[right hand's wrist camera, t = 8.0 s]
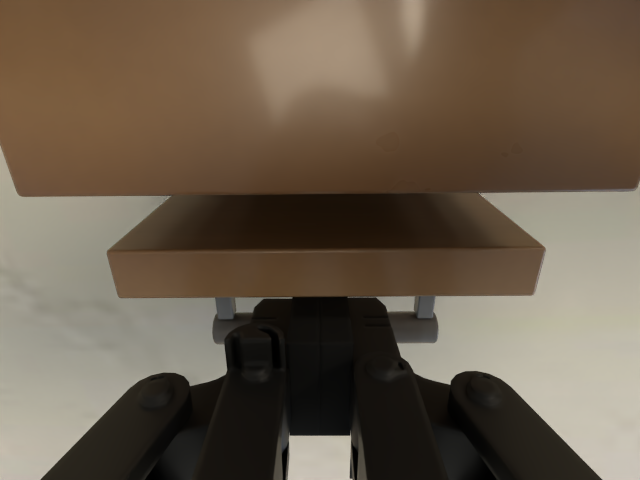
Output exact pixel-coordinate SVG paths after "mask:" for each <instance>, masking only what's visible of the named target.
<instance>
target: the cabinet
mask: <svg viewBox="0 0 640 480" xmlns="http://www.w3.org/2000/svg"><path fill="white" fill-rule="evenodd" d="M0 145H1V148H2V151H3V154H4V157H5V160H6V162H7V165H8V168H9V171H10V174H11V177H12V180H13V182H14V185H15V188H16V191H17V193H18V194H19V196H22V197H61V196H171V195H281V194H392V193H502V192H612V191H634V190H636V188H637V187H638V184H639V181H640V0H0Z"/></svg>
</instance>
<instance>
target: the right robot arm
mask: <svg viewBox="0 0 640 480" xmlns="http://www.w3.org/2000/svg"><path fill="white" fill-rule="evenodd" d="M224 344H225V353H226V362H227V373H226V375H224V376H222V377H220V378H218V379H216V380H213V381H210V382H207V383H202V384H198V385H194V386H190V385H189V382H188V381H187V379H186V378H185V377H184V376H182V375H179V374H176V373H160V374H156V375H151V376H149V377H147V378H145V379H143V380H140V381H139V382H137V383H136V384H135V385H134V386H132V387H131V388H130V389H129V390H128V391H127V392H126V393H125V394H124V395H123V396H122V397H121V398H120V399H119V400H118V401H117V402H116V403H115V404H114V405H113V406H112V407H111V408H110V409H109V410H108V411H107V412H106V413H105V414H104V415H103V416H102V417H101V418H100V419H99V420H98V421H97V422H96V423H95V424H94V425H93V426H92V427H91V428H90V430H89V431H88V432H87V433H86V434H85V435H84V436H83V437H82V438H81V439H80V440H79V441H78V442H77V443H76V444H75V445H74V446H73V447H72V448H71V449H70V450H69V451H68V452H67V453H66V454H65V455H64V456H63V457H62V458H61V459H60V460H59V461H58V462H57V463H56V464H55V465H54V466H53V467H52V468H51V469H50V470H49V471H48V472H47V474H46V475H45V476H44V477H43V478H42V479H41V480H287V478H288V466H289V431H290V436H350V430H351V459H350V479H353V480H602V479H601V478H600V477H599V476H598V475H597V474H596V473H595V472H594V471H593V470H592V469H591V468H590V467H589V466H588V465H587V464H586V463H585V462H584V461H583V460H582V459H581V458H580V457H579V456H578V455H577V454H576V453H575V452H574V451H573V450H572V449H571V448H570V447H569V446H568V445H567V443H566V442H565V441H564V440H563V439H562V438H561V437H560V436H559V435H558V434H557V433H556V432H555V431H554V430H553V429H552V428H551V427H550V426H549V425H548V424H547V423H546V422H545V421H544V420H543V419H542V418H541V417H540V416H539V415H538V414H537V413H536V412H535V411H534V410H533V409H532V408H531V407H530V406H529V405H528V404H527V403H526V402H525V401H524V400H523V399H522V398H521V397H520V396H519V395H518V394H517V393H516V392H515V391H514V390H513V389H512V388H511V387H510V386H509V385H508V384H506V383H505V382H504V381H502V380H501V379H499V378H497V377H495V376H493V375H490V374H487V373H483V372H478V371H465V372H462V373H460V374H457V375H456V376H455V377H454V378H453V379H452V380H451V385H448V384H444V383H440V382H436V381H432V380H428V379H425V378H423V377H421V376H419V375H417V374H415V373H414V372H413V370H412V368H411V366H410V365H409V363H408V362H407V361H406V360H404V359H403V358H402V357H401V356H400V352H399V349H398V346H397V342H396V339H395V336H394V333H393V329H392V327H391V323H390V320H389V318H388V313H387V310H386V307H385V305H384V304H382V303H381V302H380V301H379V300H378V299H377V298H347V297H293V298H292V299H263V300H262V301H261V302H260V303H259V304H258V305H257V306H256V307H255V308H254V311H253V315H252V319H251V321H250V323H249V324H245V325H242V326H239V327H237V328H235V329H234V330H232V331H231V332H229V333H228V335H227V336H226V337H225V339H224Z"/></svg>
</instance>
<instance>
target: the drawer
mask: <svg viewBox="0 0 640 480" xmlns="http://www.w3.org/2000/svg"><path fill="white" fill-rule="evenodd" d="M545 252H546V249H545V247H544V246H543V245H542V244H540V243H539V242H538V241H537V240H535V239H534V238H533V237H532V236H531V235H529V234H528V233H527V232H526V231H524V230H523V229H522V228H521V227H519V226H518V225H517V224H516V223H514V222H513V221H512V220H511V219H509V218H508V217H507V216H506V215H504V214H503V213H502V212H501V211H500V210H498V209H497V208H496V207H495V206H493V205H492V204H491V203H490V202H488V201H487V200H486V199H485V198H483V197H482V196H481V195H480V194H478V193H392V194H281V195H172V196H171V197H170V198H169V199H167V200H166V201H165V202H164V203H163V204H162V205H160V206H159V207H158V208H157V209H156V210H155V211H153V212H152V213H151V214H150V215H149V216H147V217H146V218H145V219H144V220H143V221H142V222H140V223H139V224H138V225H137V226H136V227H135V228H133V229H132V230H131V231H130V232H129V233H127V234H126V235H125V236H124V237H123V238H122V239H120V240H119V241H118V242H117V243H116V244H115V245H113V246H112V247H111V248H110V249H109V250H108V251H107V257H108V260H109V264H110V268H111V272H112V275H113V279H114V283H115V286H116V290H117V294H118V296H119V298H215V300H216V307H217V314H216V315H215V318H214V322H213V339H214V342H215V343H216V344H224V339H225V337H226V336H227V335H228V333H229V332H231V331H232V330H234V329H235V328H237V327H239V326H242V325H245V324H249V323H250V321H251V319H252V315H253V312H250V313H236V304H235V297H375V296H415V304H414V311H415V312H387V313H388V318H389V320H390V323H391V327H392V329H393V333H394V336H395V339H396V342H397V343H435V342H436V341H437V338H438V322H437V318H436V315H435V313H434V312H433V311H434V303H435V296H530V295H534V294H535V290H536V287H537V283H538V279H539V275H540V271H541V267H542V263H543V259H544V256H545Z"/></svg>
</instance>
